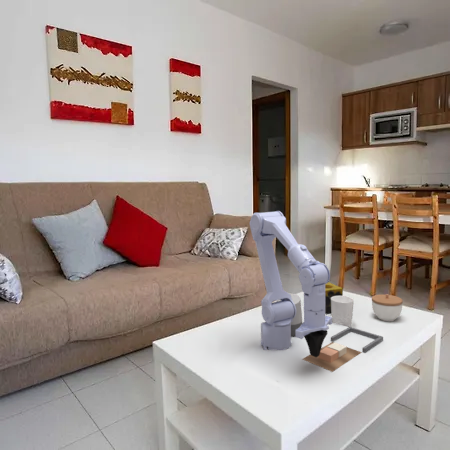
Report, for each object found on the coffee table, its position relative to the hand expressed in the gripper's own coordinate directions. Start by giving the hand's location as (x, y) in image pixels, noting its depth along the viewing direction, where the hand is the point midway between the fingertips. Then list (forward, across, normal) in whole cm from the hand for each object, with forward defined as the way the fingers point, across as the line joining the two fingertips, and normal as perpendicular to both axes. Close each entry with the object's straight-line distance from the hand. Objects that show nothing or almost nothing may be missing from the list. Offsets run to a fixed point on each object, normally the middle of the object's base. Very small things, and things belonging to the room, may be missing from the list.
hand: (314, 355), depth 100 cm
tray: (+5, +23, 0) cm, 23 cm away
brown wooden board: (+5, +9, 0) cm, 10 cm away
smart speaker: (+5, +14, +20) cm, 25 cm away
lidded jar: (+5, +52, +4) cm, 53 cm away
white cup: (+5, +34, +12) cm, 37 cm away
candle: (+5, +45, +26) cm, 52 cm away
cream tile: (+3, +12, 0) cm, 12 cm away
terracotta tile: (+3, +7, 0) cm, 8 cm away
